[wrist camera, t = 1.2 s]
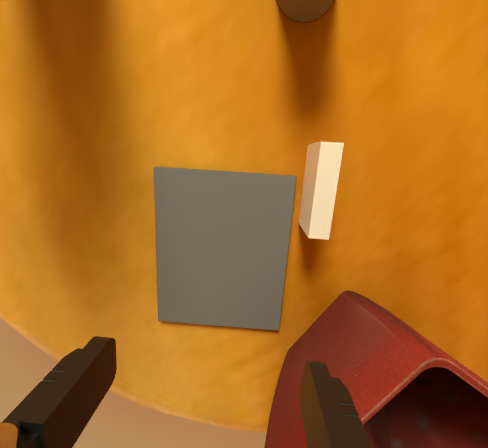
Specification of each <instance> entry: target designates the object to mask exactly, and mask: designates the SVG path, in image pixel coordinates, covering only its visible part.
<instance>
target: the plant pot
mask: <svg viewBox="0 0 488 448" xmlns="http://www.w3.org/2000/svg"><path fill="white" fill-rule="evenodd" d="M306 360H311V361H320V362H325V363H326V365H327V368H328V370H329V373H330V376H331V377H335V378H339V379H340V380H341V381H342V382H343V384H344V385H345V386H346V387H347V389H348V390H349V392H350V395H351V397H352V400H353V402H354V406H355V407H356V410H357V412H358V414H359V418H360V419H361V422H362V424H363V427H364V429H365V432H366V434H367V437H368V439H369V442H370V444H371V447H372V448H488V383H487V382H486V381H485V380H483V379H482V378H480V377H479V376H477V375H476V374H475V373H473V372H472V371H470V370H469V369H468V368H466V367H465V366H463V365H462V364H461V363H459V362H458V361H457V360H455V359H454V358H452V357H451V356H450V355H448V354H447V353H445V352H444V351H443V350H441V349H440V348H438V347H437V346H436V345H434V344H433V343H432V342H430V341H429V340H427V339H426V338H425V337H423V336H422V335H421V334H419V333H418V332H417V331H415V330H414V329H413V328H411V327H410V326H408V325H407V324H406V323H404V322H403V321H402V320H400V319H399V318H398V317H396V316H395V315H393V314H392V313H390V312H389V311H387V310H386V309H384V308H383V307H381V306H380V305H378V304H376V303H375V302H373V301H371V300H369V299H368V298H366V297H364V296H362V295H360V294H358V293H355V292H353V291H345V292H343V293H342V294H341V295H340V296H339V297H338V298H337V299H336V300H335V301H334V302H333V303H332V304H331V305H330V306H329V307H328V308H327V310H326V311H325V312H324V313H323V314H322V315H321V316H320V317H319V318H318V319H317V320H316V321H315V322H314V323H313V325H312V326H311V327H310V328H309V329H308V330H307V331H306V332H305V333H304V334H303V335H302V336H301V337H300V338H299V339H298V341H297V342H296V343H295V344H294V345H293V346H292V347H291V348H290V349H289V350H288V352H287V355H286V357H285V360H284V363H283V367H282V370H281V373H280V376H279V380H278V383H277V387H276V391H275V395H274V399H273V403H272V408H271V413H270V418H269V424H268V429H267V435H266V443H265V448H308V446H307V441H306V435H305V430H304V424H303V419H302V413H301V408H300V387H301V382H302V376H303V371H304V366H305V362H306Z"/></svg>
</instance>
